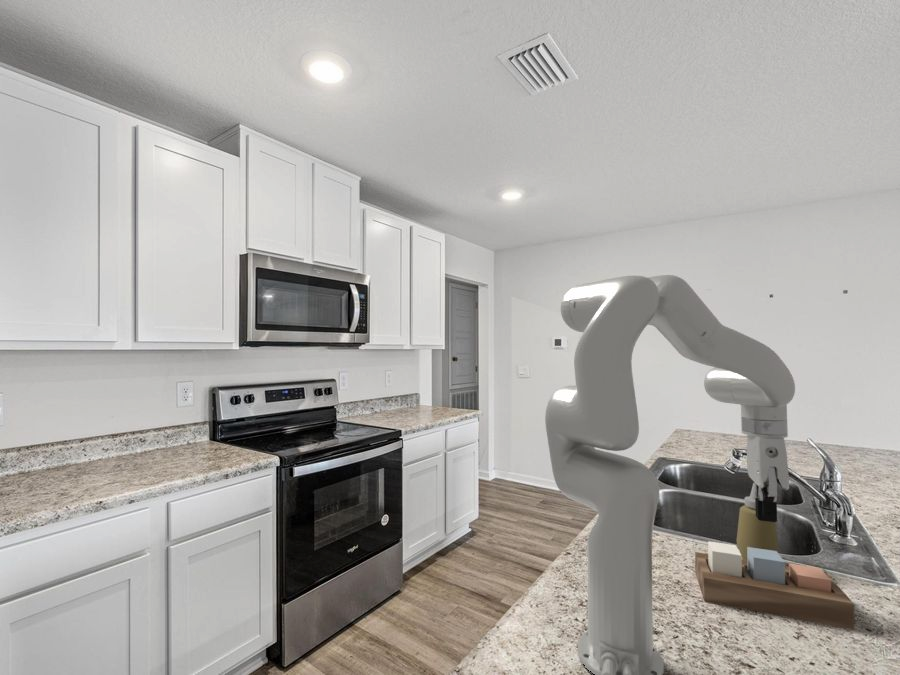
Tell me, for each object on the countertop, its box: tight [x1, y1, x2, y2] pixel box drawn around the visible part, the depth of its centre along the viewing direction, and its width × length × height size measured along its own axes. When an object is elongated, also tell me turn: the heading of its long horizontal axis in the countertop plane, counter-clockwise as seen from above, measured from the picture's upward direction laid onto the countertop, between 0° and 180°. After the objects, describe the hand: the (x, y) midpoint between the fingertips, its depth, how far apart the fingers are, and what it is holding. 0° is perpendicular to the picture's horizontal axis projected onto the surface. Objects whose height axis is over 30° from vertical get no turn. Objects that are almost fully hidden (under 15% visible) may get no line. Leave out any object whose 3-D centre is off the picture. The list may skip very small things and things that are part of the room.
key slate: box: [747, 547, 786, 585], centre depth 87 cm, size 5×5×5 cm
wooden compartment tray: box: [694, 551, 855, 631], centre depth 87 cm, size 12×23×4 cm, turn 68°
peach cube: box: [788, 563, 831, 592], centre depth 85 cm, size 5×5×5 cm
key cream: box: [707, 541, 742, 577], centre depth 90 cm, size 5×5×5 cm
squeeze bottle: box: [735, 482, 780, 560], centre depth 102 cm, size 8×8×18 cm
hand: (766, 519), depth 88 cm, fingers closed
